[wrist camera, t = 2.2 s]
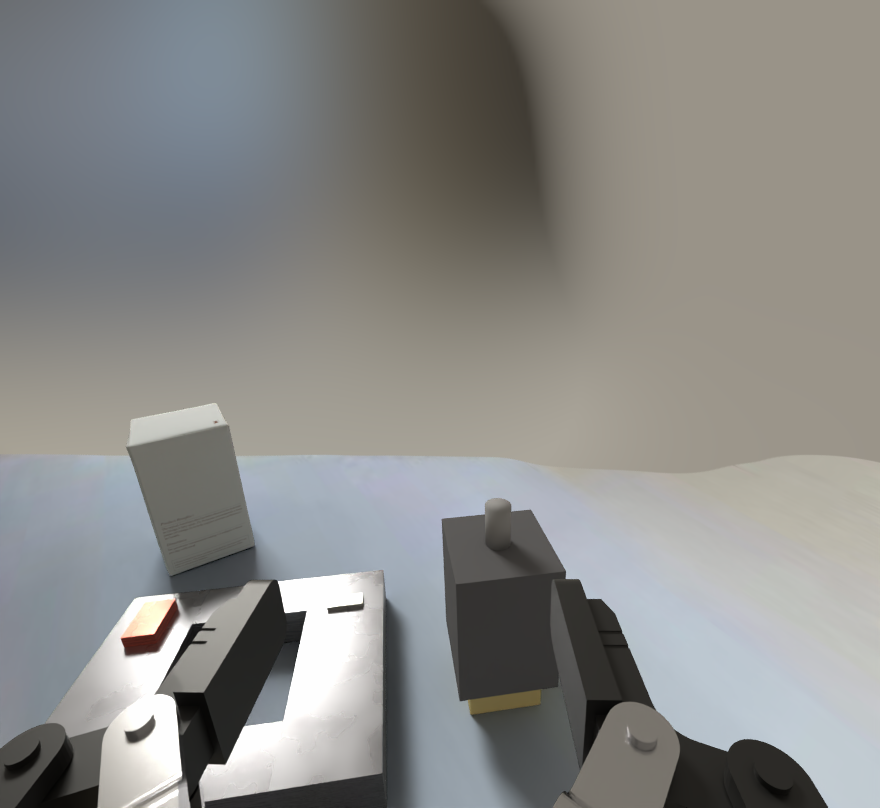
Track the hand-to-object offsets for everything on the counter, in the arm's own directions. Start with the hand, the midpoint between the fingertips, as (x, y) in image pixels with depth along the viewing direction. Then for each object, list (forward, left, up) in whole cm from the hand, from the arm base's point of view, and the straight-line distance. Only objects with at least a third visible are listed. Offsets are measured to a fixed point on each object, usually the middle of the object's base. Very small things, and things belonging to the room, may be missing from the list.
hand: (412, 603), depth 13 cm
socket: (-11, +11, -16) cm, 22 cm away
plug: (+5, +10, -16) cm, 19 cm away
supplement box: (-19, +28, -16) cm, 37 cm away
